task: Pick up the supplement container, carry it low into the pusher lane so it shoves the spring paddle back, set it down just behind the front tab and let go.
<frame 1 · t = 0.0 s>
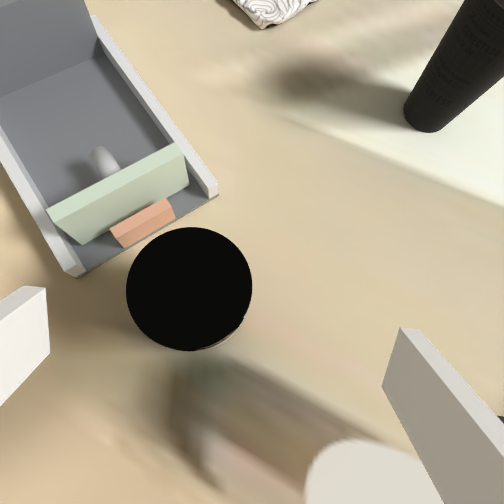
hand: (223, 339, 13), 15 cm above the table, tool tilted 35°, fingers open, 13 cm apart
pusher lane: (91, 142, 32), on the table
spring paddle: (114, 176, 27), point 3 cm above the table, slide at 0.0 cm
supplement container: (201, 310, 28), on the table
drinking cup: (423, 115, 36), on the table
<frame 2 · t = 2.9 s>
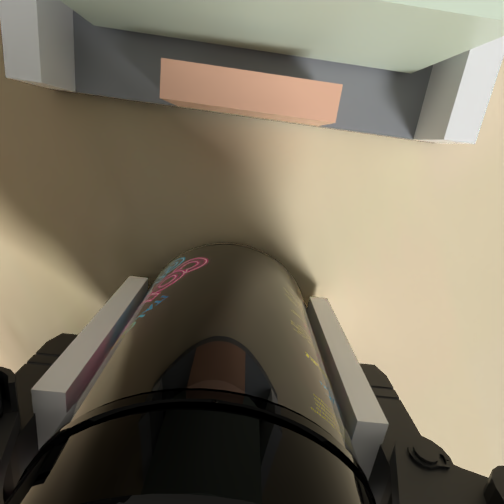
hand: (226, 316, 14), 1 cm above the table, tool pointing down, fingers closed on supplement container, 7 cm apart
supplement container: (227, 308, 15), on the table, touching gripper
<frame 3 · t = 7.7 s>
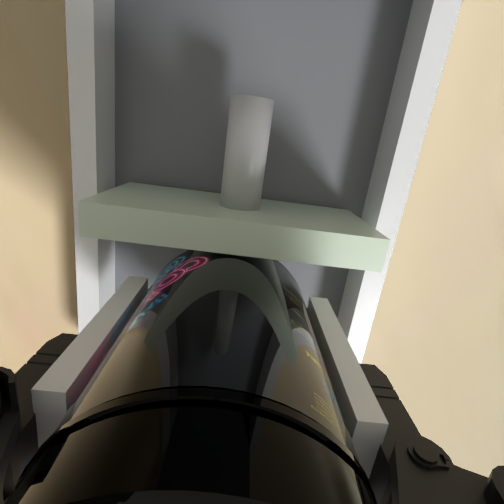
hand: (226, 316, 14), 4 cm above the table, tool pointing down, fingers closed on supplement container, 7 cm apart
pusher lane: (244, 166, 16), on the table
spring paddle: (243, 170, 13), point 3 cm above the table, slide at 6.5 cm
supplement container: (227, 307, 15), point 3 cm above the table, touching gripper
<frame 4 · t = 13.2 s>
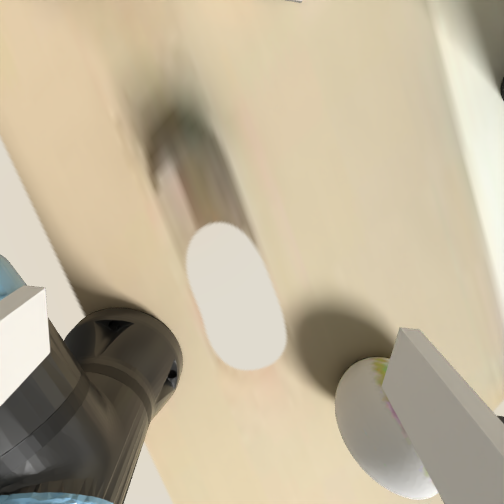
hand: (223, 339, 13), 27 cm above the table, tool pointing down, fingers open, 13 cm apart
decorative egg: (370, 381, 46), on the table
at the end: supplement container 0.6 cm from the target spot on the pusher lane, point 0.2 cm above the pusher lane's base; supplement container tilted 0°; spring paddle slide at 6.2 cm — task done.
